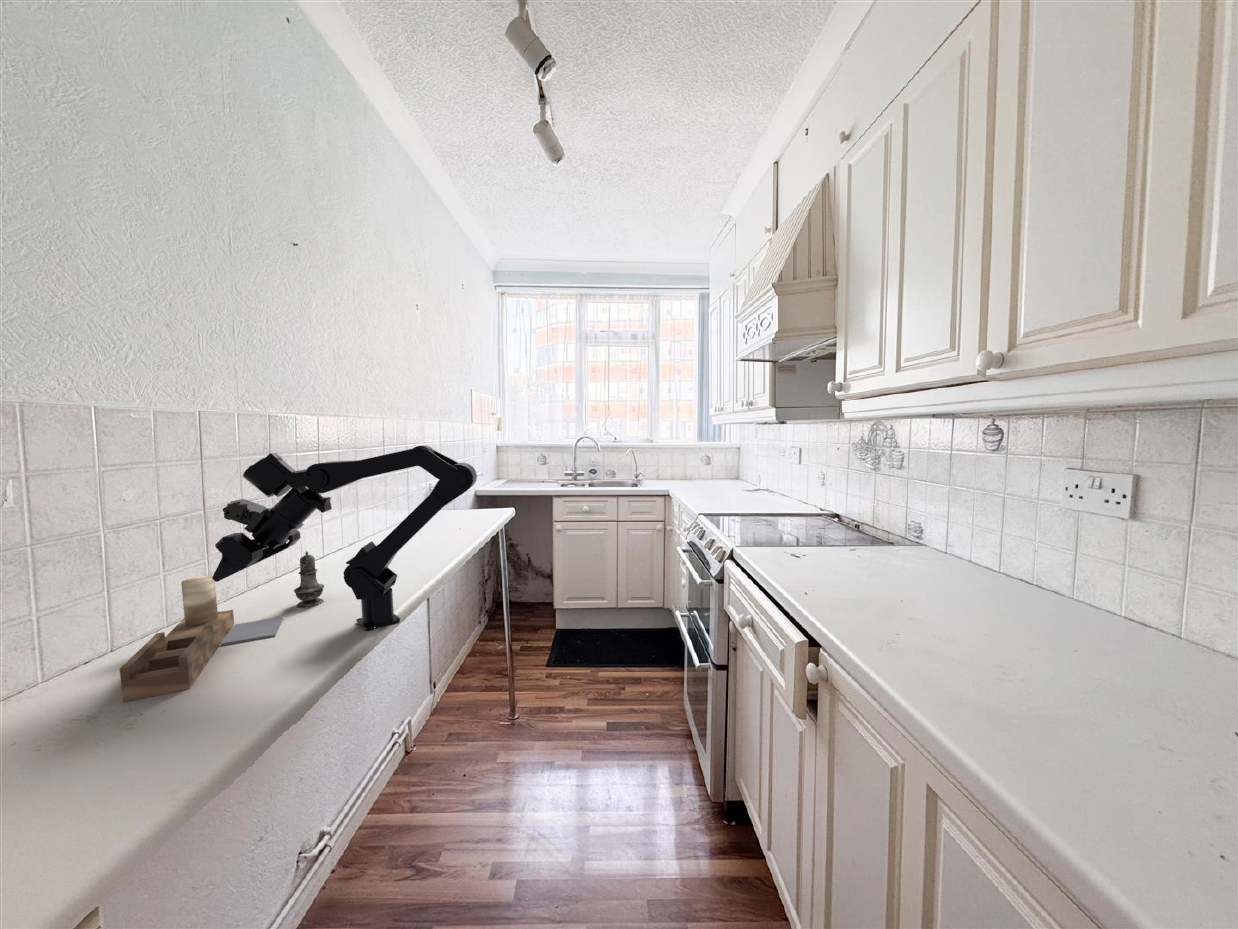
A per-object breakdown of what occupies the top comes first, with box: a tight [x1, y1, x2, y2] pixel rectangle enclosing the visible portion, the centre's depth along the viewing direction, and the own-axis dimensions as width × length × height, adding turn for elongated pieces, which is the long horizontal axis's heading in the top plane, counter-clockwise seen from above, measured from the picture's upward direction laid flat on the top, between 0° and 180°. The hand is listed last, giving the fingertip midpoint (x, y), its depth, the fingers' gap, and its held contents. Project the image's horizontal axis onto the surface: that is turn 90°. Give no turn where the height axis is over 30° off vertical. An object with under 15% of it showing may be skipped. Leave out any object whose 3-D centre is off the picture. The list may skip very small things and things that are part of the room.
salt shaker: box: [293, 550, 325, 609], centre depth 109 cm, size 6×6×12 cm
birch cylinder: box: [181, 575, 219, 626], centre depth 93 cm, size 5×5×8 cm
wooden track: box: [119, 609, 235, 703], centre depth 84 cm, size 28×8×5 cm, turn 27°
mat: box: [221, 616, 284, 646], centre depth 95 cm, size 10×8×1 cm
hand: (230, 572), depth 93 cm, fingers open, 9 cm apart
